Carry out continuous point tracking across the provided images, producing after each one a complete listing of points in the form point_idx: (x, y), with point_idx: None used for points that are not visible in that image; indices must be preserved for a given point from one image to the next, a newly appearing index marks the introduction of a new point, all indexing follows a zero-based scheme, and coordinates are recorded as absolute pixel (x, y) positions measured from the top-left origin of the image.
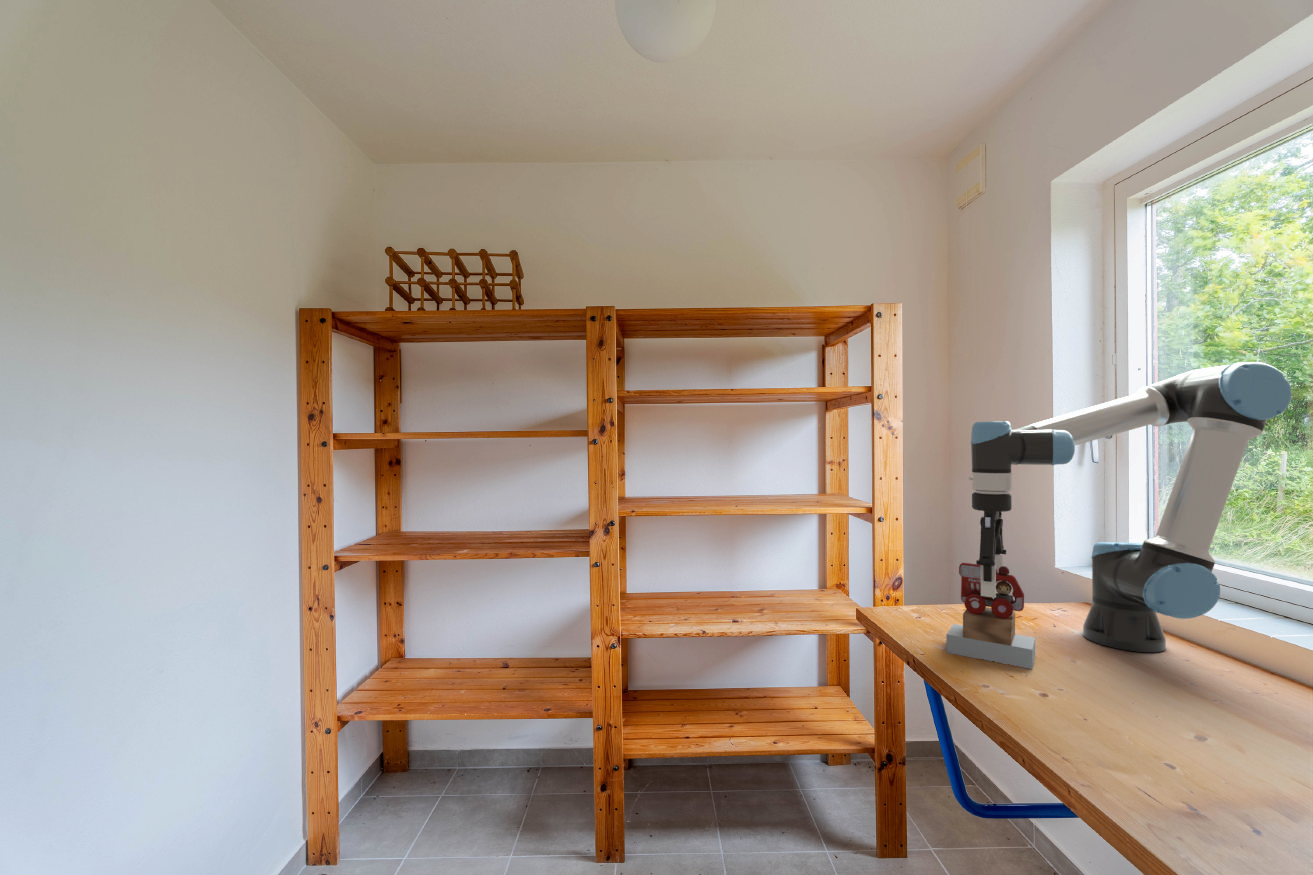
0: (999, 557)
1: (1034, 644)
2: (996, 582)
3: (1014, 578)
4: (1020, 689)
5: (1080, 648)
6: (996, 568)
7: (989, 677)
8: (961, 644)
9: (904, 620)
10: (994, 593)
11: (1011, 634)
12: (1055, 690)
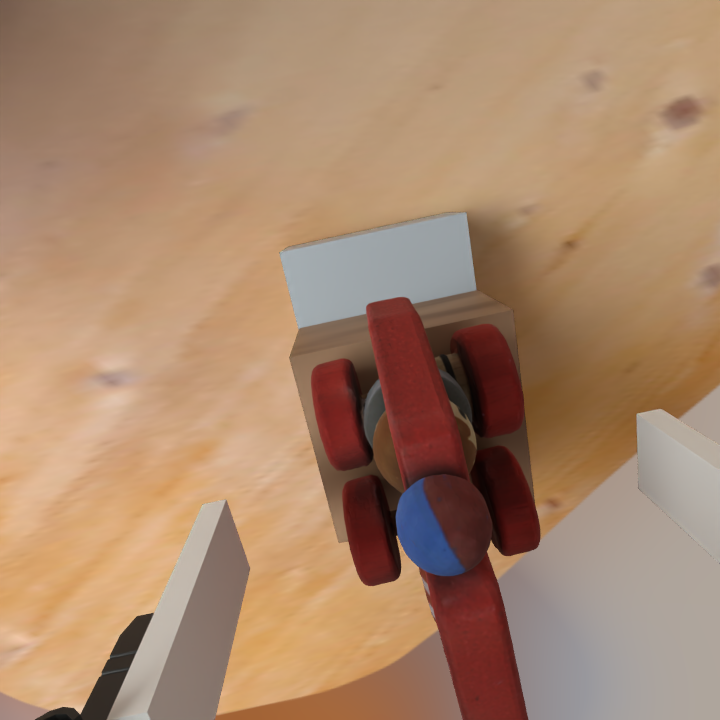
0: (165, 705)
1: (337, 239)
2: (236, 535)
3: (448, 411)
4: (679, 184)
5: (22, 139)
6: (210, 619)
7: (629, 291)
8: None
9: (255, 667)
10: (678, 426)
11: (478, 300)
12: (614, 91)
